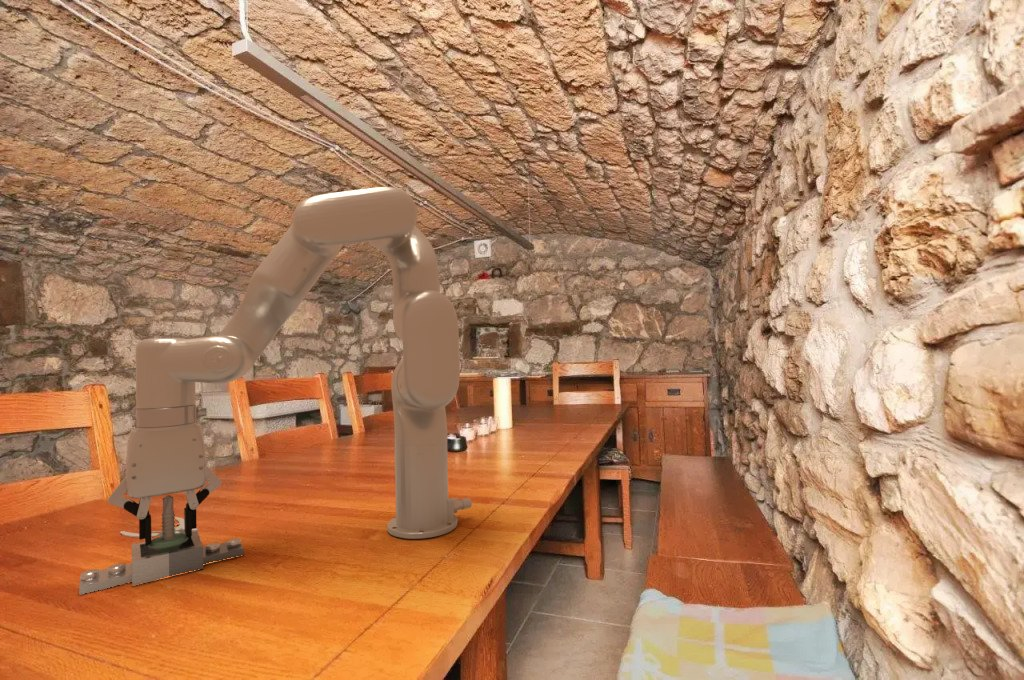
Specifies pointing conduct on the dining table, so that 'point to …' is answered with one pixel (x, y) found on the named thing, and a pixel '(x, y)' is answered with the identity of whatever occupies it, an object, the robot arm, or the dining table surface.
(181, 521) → the pliers
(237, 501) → the dining table surface
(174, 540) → the screw
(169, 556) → the riveted metal bracket
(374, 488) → the dining table surface
